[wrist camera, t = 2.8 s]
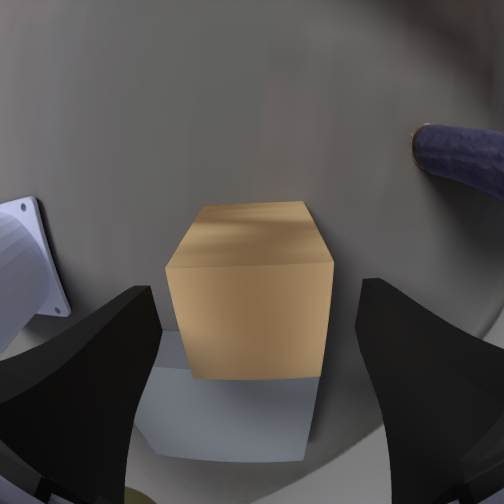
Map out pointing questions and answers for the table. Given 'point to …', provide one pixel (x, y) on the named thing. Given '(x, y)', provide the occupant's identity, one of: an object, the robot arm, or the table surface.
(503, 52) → the table surface
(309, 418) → the base block
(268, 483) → the table surface
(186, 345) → the oak block
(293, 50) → the table surface
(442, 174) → the flask
